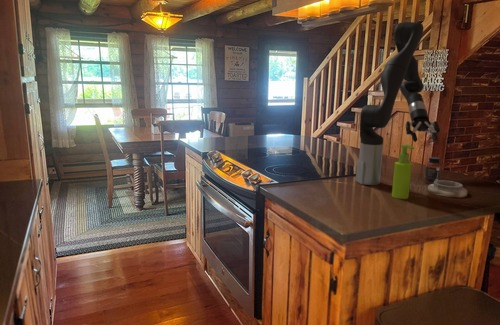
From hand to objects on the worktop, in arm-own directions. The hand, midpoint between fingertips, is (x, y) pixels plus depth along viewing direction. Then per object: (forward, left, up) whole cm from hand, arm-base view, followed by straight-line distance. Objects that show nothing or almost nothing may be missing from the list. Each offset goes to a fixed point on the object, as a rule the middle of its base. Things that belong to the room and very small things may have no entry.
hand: (425, 141), depth 168 cm
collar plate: (-4, -24, -17) cm, 30 cm away
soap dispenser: (-26, -28, -17) cm, 42 cm away
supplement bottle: (-2, -11, -17) cm, 20 cm away
